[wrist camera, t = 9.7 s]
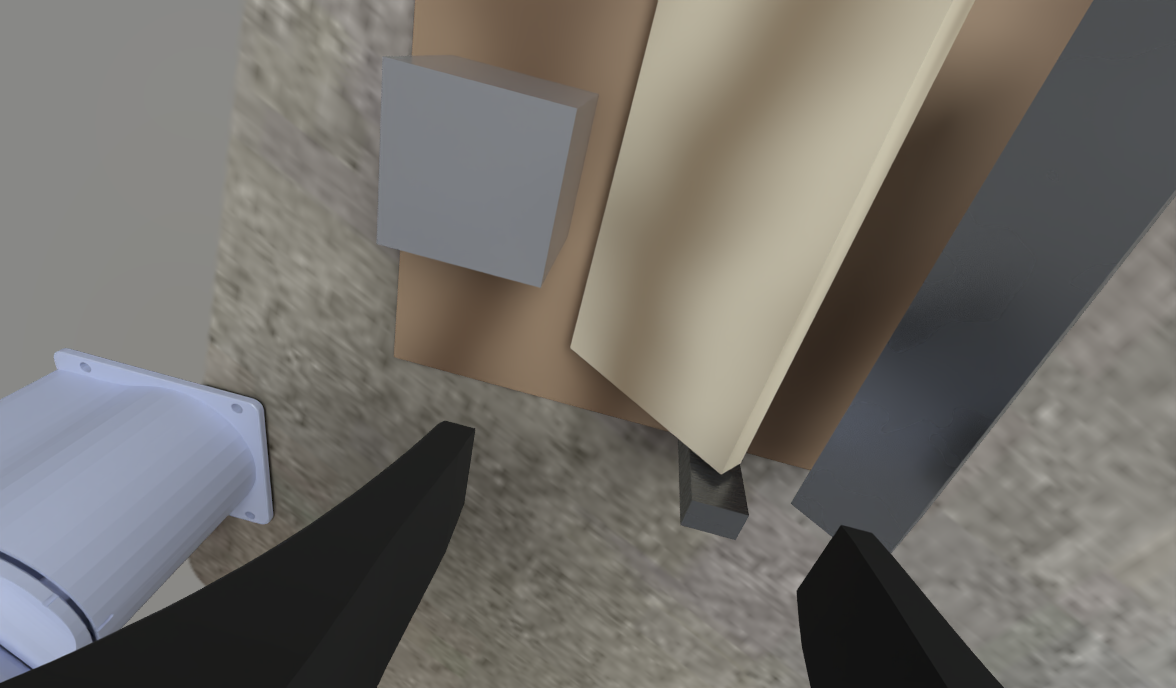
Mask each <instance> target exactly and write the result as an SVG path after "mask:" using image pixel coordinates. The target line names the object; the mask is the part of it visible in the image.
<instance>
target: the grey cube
mask: <svg viewBox="0 0 1176 688" xmlns="http://www.w3.org/2000/svg"><path fill="white" fill-rule="evenodd" d="M598 98H599V94H597V93H593V92H590V91H586V90H582V89H578V88H575V87H571V86H567V85H563V84H560V83H556V82H552V81H548V80H545V79H541V78H537V77H533V76H530V75H526V74H522V73H519V72H515V71H511V70H507V69H504V68H500V67H496V66H492V65H489V64H485V63H481V62H477V61H474V60H470V59H466V58H463V57H459V56H455V55H424V56H383V64H382V96H381V127H380V158H379V189H378V221H377V244H379V245H383V246H386V247H390V248H394V249H398V250H401V251H405V252H409V253H412V254H416V255H420V256H424V257H427V258H431V259H435V260H439V261H442V262H446V263H450V264H453V265H457V266H461V267H465V268H468V269H472V270H476V271H480V272H483V273H487V274H491V275H495V276H498V277H502V278H506V279H509V280H513V281H517V282H521V283H524V284H528V285H532V286H536V287H539V288H541V286H542V284H543V283H544V281H545V279H546V277H547V275H548V273H549V271H550V269H551V267H552V266H553V264H554V262H555V260H556V258H557V256H558V254H559V252H560V251H561V249H562V247H563V245H564V243H565V241H566V239H567V237H568V234H569V230H570V225H571V221H572V216H573V211H574V207H575V202H576V198H577V193H578V189H579V184H580V180H581V175H582V170H583V166H584V161H585V157H586V152H587V148H588V143H589V139H590V134H591V129H592V125H593V120H594V116H595V111H596V107H597V102H598Z"/></svg>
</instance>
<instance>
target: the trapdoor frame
mask: <svg viewBox="0 0 1176 688" xmlns="http://www.w3.org/2000/svg"><path fill="white" fill-rule="evenodd" d="M1092 2H1093V0H975V2H974V4H973V5H972V7H971V9H970V11H969V13H968V15H967V17H966V19H965V21H964V23H963V25H962V27H961V29H960V31H959V33H958V35H957V37H956V39H955V41H954V43H953V45H952V47H951V49H950V51H949V53H948V55H947V57H946V59H945V61H944V63H943V65H942V67H941V69H940V71H939V73H938V75H937V77H936V79H935V80H934V82H933V84H932V86H931V88H930V90H929V92H928V94H927V96H926V98H925V100H924V102H923V104H922V106H921V108H920V110H919V112H918V114H917V116H916V118H915V120H914V122H913V124H912V126H911V128H910V130H909V132H908V134H907V136H906V138H905V140H904V142H903V144H902V146H901V148H900V150H899V152H898V153H897V155H896V157H895V159H894V161H893V163H892V165H891V167H890V169H889V171H888V173H887V175H886V177H885V179H884V181H883V183H882V185H881V187H880V189H879V191H878V193H877V195H876V197H875V199H874V201H873V203H872V205H871V207H870V209H869V211H868V213H867V215H866V217H865V219H864V221H863V223H862V225H861V227H860V228H859V230H858V232H857V234H856V236H855V238H854V240H853V242H852V244H851V246H850V248H849V250H848V252H847V254H846V256H845V258H844V260H843V262H842V264H841V266H840V268H839V270H838V272H837V274H836V276H835V278H834V280H833V282H832V284H831V286H830V288H829V290H828V292H827V294H826V296H825V298H824V300H823V301H822V303H821V305H820V307H819V309H818V311H817V313H816V315H815V317H814V319H813V321H812V323H811V325H810V327H809V329H808V331H807V333H806V335H805V337H804V339H803V341H802V343H801V345H800V347H799V349H798V351H797V353H796V355H795V357H794V359H793V361H792V363H791V365H790V367H789V369H788V371H787V373H786V375H785V376H784V378H783V380H782V382H781V384H780V386H779V388H778V390H777V392H776V394H775V396H774V398H773V400H772V402H771V404H770V406H769V408H768V410H767V412H766V414H765V416H764V418H763V420H762V422H761V424H760V426H759V428H758V430H757V432H756V434H755V436H754V438H753V440H752V442H751V444H750V446H749V448H748V449H747V451H746V453H749V454H753V455H756V456H760V457H764V458H767V459H771V460H775V461H778V462H782V463H786V464H789V465H793V466H797V467H801V468H804V469H808V470H811V469H812V467H813V466H814V464H815V462H816V461H817V459H818V457H819V456H820V454H821V452H822V451H823V449H824V447H825V446H826V444H827V442H828V441H829V439H830V437H831V436H832V434H833V432H834V431H835V429H836V427H837V426H838V424H839V422H840V421H841V419H842V417H843V416H844V414H845V412H846V411H847V409H848V407H849V406H850V404H851V403H852V401H853V399H854V398H855V396H856V394H857V393H858V391H859V389H860V388H861V386H862V384H863V383H864V381H865V379H866V378H867V376H868V374H869V373H870V371H871V369H872V368H873V366H874V364H875V363H876V361H877V359H878V358H879V356H880V354H881V353H882V351H883V349H884V348H885V346H886V344H887V343H888V341H889V339H890V338H891V336H892V334H893V333H894V331H895V329H896V328H897V326H898V324H899V323H900V321H901V319H902V318H903V316H904V314H905V313H906V311H907V309H908V308H909V306H910V304H911V303H912V301H913V299H914V298H915V296H916V294H917V293H918V291H919V289H920V288H921V286H922V284H923V283H924V281H925V279H926V278H927V276H928V274H929V273H930V271H931V269H932V268H933V266H934V264H935V263H936V261H937V259H938V258H939V256H940V254H941V253H942V251H943V249H944V248H945V246H946V244H947V243H948V241H949V239H950V238H951V236H952V234H953V233H954V231H955V229H956V228H957V226H958V224H959V223H960V221H961V219H962V218H963V216H964V215H965V213H966V211H967V210H968V208H969V206H970V205H971V203H972V201H973V200H974V198H975V196H976V195H977V193H978V191H979V190H980V188H981V186H982V185H983V183H984V181H985V180H986V178H987V176H988V175H989V173H990V171H991V170H992V168H993V166H994V165H995V163H996V161H997V160H998V158H999V156H1000V155H1001V153H1002V151H1003V150H1004V148H1005V146H1006V145H1007V143H1008V141H1009V140H1010V138H1011V136H1012V135H1013V133H1014V131H1015V130H1016V128H1017V126H1018V125H1019V123H1020V121H1021V120H1022V118H1023V116H1024V115H1025V113H1026V111H1027V110H1028V108H1029V106H1030V105H1031V103H1032V101H1033V100H1034V98H1035V96H1036V95H1037V93H1038V91H1039V90H1040V88H1041V86H1042V85H1043V83H1044V81H1045V80H1046V78H1047V76H1048V75H1049V73H1050V71H1051V70H1052V68H1053V66H1054V65H1055V63H1056V61H1057V60H1058V58H1059V56H1060V55H1061V53H1062V51H1063V50H1064V48H1065V46H1066V45H1067V43H1068V41H1069V40H1070V38H1071V36H1072V35H1073V33H1074V31H1075V30H1076V28H1077V27H1078V25H1079V23H1080V22H1081V20H1082V18H1083V17H1084V15H1085V13H1086V12H1087V10H1088V8H1089V7H1090V5H1091V3H1092ZM657 4H658V0H415V12H414V29H413V46H412V56H424V55H455V56H459V57H463V58H466V59H470V60H474V61H477V62H481V63H485V64H489V65H492V66H496V67H500V68H504V69H507V70H511V71H515V72H519V73H522V74H526V75H530V76H533V77H537V78H541V79H545V80H548V81H552V82H556V83H560V84H563V85H567V86H571V87H575V88H578V89H582V90H586V91H590V92H593V93H597V94H599V98H598V102H597V107H596V111H595V116H594V120H593V125H592V129H591V134H590V139H589V143H588V148H587V152H586V157H585V161H584V166H583V170H582V175H581V180H580V184H579V189H578V193H577V198H576V202H575V207H574V211H573V216H572V221H571V225H570V230H569V234H568V237H567V239H566V241H565V243H564V245H563V247H562V249H561V251H560V252H559V254H558V256H557V258H556V260H555V262H554V264H553V266H552V267H551V269H550V271H549V273H548V275H547V277H546V279H545V281H544V283H543V284H542V286H541V288H539V287H536V286H532V285H528V284H524V283H521V282H517V281H513V280H509V279H506V278H502V277H498V276H495V275H491V274H487V273H483V272H480V271H476V270H472V269H468V268H465V267H461V266H457V265H453V264H450V263H446V262H442V261H439V260H435V259H431V258H427V257H424V256H420V255H416V254H412V253H409V252H405V251H401V250H400V263H399V280H398V297H397V314H396V330H395V347H394V357H395V358H399V359H403V360H406V361H410V362H414V363H418V364H421V365H425V366H429V367H432V368H436V369H440V370H443V371H447V372H451V373H454V374H458V375H462V376H465V377H469V378H473V379H476V380H480V381H484V382H487V383H491V384H495V385H499V386H502V387H506V388H510V389H513V390H517V391H521V392H524V393H528V394H532V395H535V396H539V397H543V398H546V399H550V400H554V401H557V402H561V403H565V404H569V405H572V406H576V407H580V408H583V409H587V410H591V411H594V412H598V413H602V414H605V415H609V416H613V417H616V418H620V419H624V420H627V421H631V422H635V423H638V424H642V425H646V426H650V427H653V428H657V429H661V430H664V431H668V432H670V431H669V430H667V429H666V428H665V427H664V426H663V425H661V424H660V423H659V422H658V421H657V420H655V419H654V418H653V417H652V416H651V415H649V414H648V413H647V412H646V411H645V410H644V409H642V408H641V407H640V406H639V405H638V404H636V403H635V402H634V401H633V400H632V399H630V398H629V397H628V396H627V395H626V394H624V393H623V392H622V391H621V390H620V389H619V388H617V387H616V386H615V385H614V384H613V383H611V382H610V381H609V380H608V379H607V378H605V377H604V376H603V375H602V374H601V373H600V372H598V371H597V370H596V369H595V368H594V367H592V366H591V365H590V364H589V363H588V362H586V361H585V360H584V359H583V358H582V357H580V356H579V355H578V354H577V353H576V352H575V351H573V350H572V349H571V348H570V346H571V342H572V338H573V334H574V331H575V327H576V323H577V319H578V315H579V311H580V307H581V303H582V299H583V295H584V291H585V287H586V283H587V279H588V275H589V271H590V268H591V264H592V260H593V256H594V252H595V248H596V244H597V240H598V236H599V232H600V228H601V224H602V220H603V216H604V212H605V208H606V204H607V201H608V197H609V193H610V189H611V185H612V181H613V177H614V173H615V169H616V165H617V161H618V157H619V153H620V149H621V145H622V141H623V138H624V134H625V130H626V126H627V122H628V118H629V114H630V110H631V106H632V102H633V98H634V94H635V90H636V86H637V82H638V78H639V74H640V71H641V67H642V63H643V59H644V55H645V51H646V47H647V43H648V39H649V35H650V31H651V27H652V23H653V19H654V15H655V11H656V7H657ZM678 453H679V488H680V523H681V525H682V526H686V527H690V528H693V529H697V530H701V531H705V532H708V533H712V534H716V535H719V536H723V537H727V538H730V539H734V540H736V538H737V536H738V534H739V533H740V531H741V529H742V527H743V525H744V524H745V522H746V520H747V518H748V516H749V513H748V508H747V502H746V496H745V491H744V485H743V479H742V474H741V468H740V464H738V465H737V466H735V467H733V468H732V469H730V470H728V471H727V472H725V473H723V474H720V473H719V472H717V471H716V470H715V469H714V468H713V467H711V466H710V465H709V464H708V463H707V462H705V461H704V460H703V459H702V458H701V457H699V456H698V455H697V454H696V453H695V452H694V451H692V450H691V449H690V448H689V447H688V446H686V445H685V444H684V443H683V442H682V441H680V440H679V439H678Z"/></svg>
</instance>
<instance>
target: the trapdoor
mask: <svg viewBox="0 0 1176 688" xmlns="http://www.w3.org/2000/svg"><path fill="white" fill-rule="evenodd" d="M974 2H975V0H658V4H657V7H656V11H655V15H654V19H653V23H652V27H651V31H650V35H649V39H648V43H647V47H646V51H645V55H644V59H643V63H642V67H641V71H640V74H639V78H638V82H637V86H636V90H635V94H634V98H633V102H632V106H631V110H630V114H629V118H628V122H627V126H626V130H625V134H624V138H623V141H622V145H621V149H620V153H619V157H618V161H617V165H616V169H615V173H614V177H613V181H612V185H611V189H610V193H609V197H608V201H607V204H606V208H605V212H604V216H603V220H602V224H601V228H600V232H599V236H598V240H597V244H596V248H595V252H594V256H593V260H592V264H591V268H590V271H589V275H588V279H587V283H586V287H585V291H584V295H583V299H582V303H581V307H580V311H579V315H578V319H577V323H576V327H575V331H574V334H573V338H572V342H571V346H570V348H571V349H572V350H573V351H575V352H576V353H577V354H578V355H579V356H580V357H582V358H583V359H584V360H585V361H586V362H588V363H589V364H590V365H591V366H592V367H594V368H595V369H596V370H597V371H598V372H600V373H601V374H602V375H603V376H604V377H605V378H607V379H608V380H609V381H610V382H611V383H613V384H614V385H615V386H616V387H617V388H619V389H620V390H621V391H622V392H623V393H624V394H626V395H627V396H628V397H629V398H630V399H632V400H633V401H634V402H635V403H636V404H638V405H639V406H640V407H641V408H642V409H644V410H645V411H646V412H647V413H648V414H649V415H651V416H652V417H653V418H654V419H655V420H657V421H658V422H659V423H660V424H661V425H663V426H664V427H665V428H666V429H667V430H669V431H670V432H671V433H672V434H673V435H674V436H676V437H677V438H678V439H679V440H680V441H682V442H683V443H684V444H685V445H686V446H688V447H689V448H690V449H691V450H692V451H694V452H695V453H696V454H697V455H698V456H699V457H701V458H702V459H703V460H704V461H705V462H707V463H708V464H709V465H710V466H711V467H713V468H714V469H715V470H716V471H717V472H719V473H720V474H723V473H725V472H727V471H728V470H730V469H732V468H733V467H735V466H737V465H738V464H740V463H741V461H742V459H743V457H744V455H745V453H746V451H747V449H748V448H749V446H750V444H751V442H752V440H753V438H754V436H755V434H756V432H757V430H758V428H759V426H760V424H761V422H762V420H763V418H764V416H765V414H766V412H767V410H768V408H769V406H770V404H771V402H772V400H773V398H774V396H775V394H776V392H777V390H778V388H779V386H780V384H781V382H782V380H783V378H784V376H785V375H786V373H787V371H788V369H789V367H790V365H791V363H792V361H793V359H794V357H795V355H796V353H797V351H798V349H799V347H800V345H801V343H802V341H803V339H804V337H805V335H806V333H807V331H808V329H809V327H810V325H811V323H812V321H813V319H814V317H815V315H816V313H817V311H818V309H819V307H820V305H821V303H822V301H823V300H824V298H825V296H826V294H827V292H828V290H829V288H830V286H831V284H832V282H833V280H834V278H835V276H836V274H837V272H838V270H839V268H840V266H841V264H842V262H843V260H844V258H845V256H846V254H847V252H848V250H849V248H850V246H851V244H852V242H853V240H854V238H855V236H856V234H857V232H858V230H859V228H860V227H861V225H862V223H863V221H864V219H865V217H866V215H867V213H868V211H869V209H870V207H871V205H872V203H873V201H874V199H875V197H876V195H877V193H878V191H879V189H880V187H881V185H882V183H883V181H884V179H885V177H886V175H887V173H888V171H889V169H890V167H891V165H892V163H893V161H894V159H895V157H896V155H897V153H898V152H899V150H900V148H901V146H902V144H903V142H904V140H905V138H906V136H907V134H908V132H909V130H910V128H911V126H912V124H913V122H914V120H915V118H916V116H917V114H918V112H919V110H920V108H921V106H922V104H923V102H924V100H925V98H926V96H927V94H928V92H929V90H930V88H931V86H932V84H933V82H934V80H935V79H936V77H937V75H938V73H939V71H940V69H941V67H942V65H943V63H944V61H945V59H946V57H947V55H948V53H949V51H950V49H951V47H952V45H953V43H954V41H955V39H956V37H957V35H958V33H959V31H960V29H961V27H962V25H963V23H964V21H965V19H966V17H967V15H968V13H969V11H970V9H971V7H972V5H973V4H974ZM1175 196H1176V0H1093V2H1092V3H1091V5H1090V7H1089V8H1088V10H1087V12H1086V13H1085V15H1084V17H1083V18H1082V20H1081V22H1080V23H1079V25H1078V27H1077V28H1076V30H1075V31H1074V33H1073V35H1072V36H1071V38H1070V40H1069V41H1068V43H1067V45H1066V46H1065V48H1064V50H1063V51H1062V53H1061V55H1060V56H1059V58H1058V60H1057V61H1056V63H1055V65H1054V66H1053V68H1052V70H1051V71H1050V73H1049V75H1048V76H1047V78H1046V80H1045V81H1044V83H1043V85H1042V86H1041V88H1040V90H1039V91H1038V93H1037V95H1036V96H1035V98H1034V100H1033V101H1032V103H1031V105H1030V106H1029V108H1028V110H1027V111H1026V113H1025V115H1024V116H1023V118H1022V120H1021V121H1020V123H1019V125H1018V126H1017V128H1016V130H1015V131H1014V133H1013V135H1012V136H1011V138H1010V140H1009V141H1008V143H1007V145H1006V146H1005V148H1004V150H1003V151H1002V153H1001V155H1000V156H999V158H998V160H997V161H996V163H995V165H994V166H993V168H992V170H991V171H990V173H989V175H988V176H987V178H986V180H985V181H984V183H983V185H982V186H981V188H980V190H979V191H978V193H977V195H976V196H975V198H974V200H973V201H972V203H971V205H970V206H969V208H968V210H967V211H966V213H965V215H964V216H963V218H962V219H961V221H960V223H959V224H958V226H957V228H956V229H955V231H954V233H953V234H952V236H951V238H950V239H949V241H948V243H947V244H946V246H945V248H944V249H943V251H942V253H941V254H940V256H939V258H938V259H937V261H936V263H935V264H934V266H933V268H932V269H931V271H930V273H929V274H928V276H927V278H926V279H925V281H924V283H923V284H922V286H921V288H920V289H919V291H918V293H917V294H916V296H915V298H914V299H913V301H912V303H911V304H910V306H909V308H908V309H907V311H906V313H905V314H904V316H903V318H902V319H901V321H900V323H899V324H898V326H897V328H896V329H895V331H894V333H893V334H892V336H891V338H890V339H889V341H888V343H887V344H886V346H885V348H884V349H883V351H882V353H881V354H880V356H879V358H878V359H877V361H876V363H875V364H874V366H873V368H872V369H871V371H870V373H869V374H868V376H867V378H866V379H865V381H864V383H863V384H862V386H861V388H860V389H859V391H858V393H857V394H856V396H855V398H854V399H853V401H852V403H851V404H850V406H849V407H848V409H847V411H846V412H845V414H844V416H843V417H842V419H841V421H840V422H839V424H838V426H837V427H836V429H835V431H834V432H833V434H832V436H831V437H830V439H829V441H828V442H827V444H826V446H825V447H824V449H823V451H822V452H821V454H820V456H819V457H818V459H817V461H816V462H815V464H814V466H813V467H812V469H811V471H810V472H809V474H808V476H807V477H806V479H805V481H804V482H803V484H802V486H801V487H800V489H799V491H798V492H797V494H796V496H795V497H794V499H793V501H792V502H791V504H792V505H793V506H794V507H796V508H797V509H798V510H799V511H801V512H802V513H803V514H804V515H806V516H807V517H808V518H809V519H811V520H812V521H813V522H814V523H816V524H817V525H818V526H819V527H821V528H822V529H823V530H824V531H826V532H827V533H828V534H829V535H831V536H832V537H833V536H834V534H835V533H836V531H837V530H838V528H839V527H840V525H844V526H848V527H852V528H856V529H860V530H863V531H867V532H871V533H873V534H874V535H875V536H876V538H877V539H878V540H879V541H880V542H881V543H882V544H883V545H884V547H885V548H886V549H887V550H888V551H889V552H890V553H892V552H893V551H894V549H895V548H896V547H897V546H898V545H899V544H900V542H901V541H902V540H903V539H904V538H905V536H906V535H907V534H908V533H909V532H910V531H911V529H912V528H913V527H914V526H915V525H916V523H917V522H918V521H919V520H920V519H921V518H922V516H923V515H924V514H925V513H926V511H927V510H928V509H929V507H930V506H931V505H932V504H933V502H934V501H935V500H936V499H937V497H938V496H939V495H940V494H941V492H942V491H943V490H944V489H945V487H946V486H947V485H948V483H949V482H950V481H951V480H952V478H953V477H954V476H955V475H956V473H957V472H958V471H959V470H960V468H961V467H962V466H963V464H964V463H965V462H966V461H967V459H968V458H969V457H970V456H971V454H972V453H973V452H974V451H975V449H976V448H977V447H978V445H979V444H980V443H981V442H982V440H983V439H984V438H985V437H986V435H987V434H988V433H989V432H990V430H991V429H992V428H993V427H994V425H995V424H996V423H997V421H998V420H999V419H1000V418H1001V416H1002V415H1003V414H1004V413H1005V411H1006V410H1007V409H1008V408H1009V406H1010V405H1011V404H1012V402H1013V401H1014V400H1015V399H1016V397H1017V396H1018V395H1019V394H1020V392H1021V391H1022V390H1023V389H1024V387H1025V386H1026V385H1027V383H1028V382H1029V381H1030V380H1031V378H1032V377H1033V376H1034V375H1035V373H1036V372H1037V371H1038V370H1039V368H1040V367H1041V366H1042V365H1043V363H1044V362H1045V361H1046V359H1047V358H1048V357H1049V356H1050V354H1051V353H1052V352H1053V351H1054V349H1055V348H1056V347H1057V346H1058V344H1059V343H1060V342H1061V340H1062V339H1063V338H1064V337H1065V335H1066V334H1067V333H1068V332H1069V330H1070V329H1071V328H1072V327H1073V325H1074V324H1075V323H1076V322H1077V320H1078V319H1079V318H1080V316H1081V315H1082V314H1083V313H1084V311H1085V310H1086V309H1087V308H1088V306H1089V305H1090V304H1091V303H1092V301H1093V300H1094V299H1095V297H1096V296H1097V295H1098V294H1099V292H1100V291H1101V290H1102V289H1103V287H1104V286H1105V285H1106V284H1107V282H1108V281H1109V280H1110V278H1111V277H1112V276H1113V275H1114V273H1115V272H1116V271H1117V270H1118V268H1119V267H1120V266H1121V265H1122V263H1123V262H1124V261H1125V260H1126V258H1127V257H1128V256H1129V254H1130V253H1131V252H1132V251H1133V249H1134V248H1135V247H1136V246H1137V244H1138V243H1139V242H1140V241H1141V239H1142V238H1143V237H1144V235H1145V234H1146V233H1147V232H1148V230H1149V229H1150V228H1151V227H1152V225H1153V224H1154V223H1155V222H1156V220H1157V219H1158V218H1159V216H1160V215H1161V214H1162V213H1163V211H1164V210H1165V209H1166V208H1167V206H1168V205H1169V204H1170V203H1171V201H1172V200H1173V199H1174V198H1175Z"/></svg>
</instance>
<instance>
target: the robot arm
mask: <svg viewBox="0 0 1176 688" xmlns="http://www.w3.org/2000/svg"><path fill="white" fill-rule="evenodd" d="M54 360H55V363H56V366H57V370H56V371H54V372H52V373H50V374H48V375H46V376H44V377H42V378H40V379H38V380H37V381H35V382H33V383H31V384H29V385H27V386H25V387H23V388H21V389H19V390H17V391H15V392H14V393H12V394H10V395H8V396H6V397H4V398H2V399H0V688H377V686H378V684H379V682H380V680H381V678H382V675H383V673H384V671H385V669H386V667H387V665H388V663H389V661H390V659H391V657H392V655H393V653H394V651H395V649H396V647H397V646H398V644H399V642H400V640H401V638H402V636H403V634H404V632H405V630H406V628H407V626H408V624H409V622H410V620H411V618H412V616H413V614H414V613H415V611H416V609H417V607H418V605H419V603H420V601H421V599H422V597H423V595H424V593H425V591H426V589H427V587H428V585H429V583H430V581H431V579H432V578H433V576H434V574H435V572H436V570H437V568H438V566H439V564H440V562H441V560H442V558H443V556H444V554H445V552H446V549H447V547H448V544H449V542H450V539H451V537H452V534H453V531H454V529H455V526H456V524H457V521H458V518H459V516H460V513H461V510H462V508H463V505H464V501H465V494H466V488H467V481H468V474H469V468H470V461H471V455H472V448H473V441H474V435H475V428H471V427H467V426H463V425H459V424H456V423H452V422H448V421H443V422H441V423H439V424H438V425H437V426H435V427H434V428H433V429H432V430H431V431H430V432H429V433H428V434H427V435H426V436H424V437H423V438H422V439H421V440H420V441H419V442H418V443H416V444H415V445H414V446H413V447H412V448H411V449H409V450H408V451H407V452H406V453H405V454H403V455H402V456H401V457H400V458H399V459H397V460H396V461H395V462H394V463H393V464H391V465H390V466H389V467H388V468H386V469H385V470H384V471H382V472H381V473H380V474H379V475H377V476H376V477H375V478H373V479H372V480H371V481H370V482H368V483H367V484H366V485H364V486H363V487H362V488H361V489H359V490H358V491H357V492H355V493H354V494H353V495H351V496H350V497H348V498H347V499H345V500H344V501H343V502H341V503H340V504H338V505H337V506H336V507H334V508H333V509H331V510H330V511H328V512H327V513H326V514H324V515H323V516H321V517H320V518H318V519H317V520H316V521H314V522H313V523H311V524H310V525H308V526H307V527H305V528H304V529H302V530H301V531H299V532H297V533H296V534H294V535H293V536H291V537H290V538H288V539H287V540H285V541H283V542H282V543H280V544H279V545H277V546H275V547H274V548H272V549H270V550H269V551H267V552H265V553H264V554H262V555H260V556H259V557H257V558H255V559H254V560H252V561H250V562H249V563H247V564H245V565H244V566H242V567H240V568H238V569H236V570H234V571H233V572H231V573H229V574H227V575H225V576H224V577H222V578H220V579H218V580H216V581H215V582H213V583H211V584H209V585H207V586H206V587H204V588H202V589H200V590H198V591H197V592H195V593H193V594H191V595H189V596H187V597H185V598H183V599H181V600H179V601H177V602H176V603H174V604H172V605H170V606H168V607H166V608H164V609H162V610H160V611H158V612H155V613H153V614H151V615H149V616H147V617H145V618H143V619H141V620H139V621H137V622H135V623H133V624H130V625H128V626H126V627H124V628H122V627H123V626H124V625H125V624H126V623H127V622H128V621H129V620H130V618H132V616H133V615H134V614H135V613H136V612H137V611H138V610H139V609H140V608H141V607H142V606H143V605H144V604H145V603H146V602H147V600H148V599H149V598H150V597H151V596H152V595H153V594H154V593H155V592H156V591H157V590H158V589H159V588H160V587H161V586H162V585H163V584H164V582H166V580H167V579H168V578H169V577H170V576H171V575H172V574H173V573H174V572H175V571H176V570H177V569H178V568H179V567H180V566H181V565H182V564H183V562H184V561H185V560H186V559H187V558H188V557H189V556H190V555H191V554H192V553H193V552H194V551H195V550H196V549H197V548H198V547H199V546H200V544H201V543H202V542H203V541H204V540H205V539H206V538H207V537H208V536H209V535H210V534H211V533H212V532H213V531H214V530H215V529H216V528H217V526H218V525H219V524H220V523H221V522H222V521H223V520H224V519H225V518H226V517H227V516H228V515H230V516H233V517H237V518H241V519H244V520H248V521H252V522H255V523H259V524H267V523H269V522H270V520H271V519H272V518H273V506H272V495H271V484H270V473H269V462H268V451H267V440H266V429H265V418H264V409H263V406H262V405H261V403H260V402H259V401H257V400H255V399H253V398H249V397H246V396H242V395H238V394H235V393H231V392H227V391H224V390H220V389H216V388H213V387H209V386H205V385H201V384H198V383H194V382H190V381H186V380H183V379H179V378H176V377H172V376H168V375H165V374H161V373H157V372H154V371H150V370H146V369H142V368H138V367H135V366H131V365H128V364H124V363H120V362H117V361H113V360H109V359H106V358H102V357H98V356H94V355H91V354H87V353H84V352H80V351H76V350H72V349H69V348H64V349H61V350H59V351H57V352H55V354H54ZM797 603H798V615H799V626H800V634H801V643H802V649H803V654H804V659H805V663H806V668H807V672H808V677H809V681H810V686H811V688H1004V687H1003V686H1002V685H1001V684H1000V683H999V682H998V681H997V679H996V678H995V677H994V676H993V675H992V674H991V673H990V671H989V670H988V669H987V668H986V667H985V666H984V665H983V663H982V662H981V661H980V660H979V659H978V658H977V657H976V655H975V654H974V653H973V652H972V651H971V650H970V648H969V647H968V646H967V645H966V644H965V643H964V641H963V640H962V639H961V638H960V637H959V635H958V634H957V633H956V632H955V631H954V629H953V628H952V627H951V626H950V625H949V623H948V622H947V621H946V620H945V619H944V617H943V616H942V615H941V614H940V613H939V611H938V610H937V609H936V608H935V607H934V605H933V604H932V603H931V602H930V601H929V599H928V598H927V597H926V596H925V594H924V593H923V592H922V591H921V590H920V588H919V587H918V586H917V585H916V584H915V582H914V581H913V580H912V579H911V577H910V576H909V575H908V574H907V573H906V571H905V570H904V569H903V568H902V567H901V565H900V564H899V563H898V562H897V561H896V559H895V558H894V557H893V556H892V555H891V553H890V552H889V551H888V550H887V549H886V548H885V547H884V545H883V544H882V543H881V542H880V541H879V540H878V539H877V538H876V536H875V535H874V534H873V533H871V532H867V531H863V530H860V529H856V528H852V527H848V526H844V525H840V527H839V528H838V530H837V531H836V533H835V534H834V536H833V537H832V539H831V540H830V542H829V543H828V545H827V546H826V548H825V549H824V551H823V552H822V554H821V555H820V557H819V558H818V560H817V561H816V563H815V564H814V566H813V567H812V569H811V570H810V572H809V573H808V575H807V576H806V578H805V579H804V581H803V582H802V584H801V585H800V587H799V588H798V590H797ZM121 628H122V629H121Z"/></svg>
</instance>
